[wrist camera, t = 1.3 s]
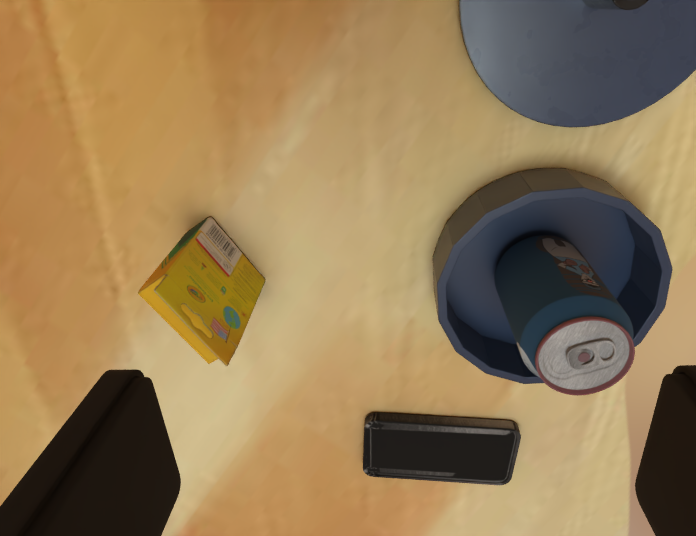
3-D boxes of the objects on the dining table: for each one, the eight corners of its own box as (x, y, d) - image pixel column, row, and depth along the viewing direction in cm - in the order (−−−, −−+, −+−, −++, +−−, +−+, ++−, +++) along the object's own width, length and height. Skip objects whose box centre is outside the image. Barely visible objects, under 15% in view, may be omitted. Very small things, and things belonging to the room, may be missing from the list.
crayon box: (185, 232, 43) (120, 306, 33) (211, 214, 42) (153, 284, 32) (241, 296, 45) (198, 383, 35) (267, 281, 44) (231, 365, 34)
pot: (541, 122, 37) (562, 138, 32) (684, 255, 41) (720, 285, 36) (392, 275, 43) (392, 305, 39) (527, 376, 47) (541, 415, 43)
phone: (364, 419, 49) (522, 429, 49) (365, 411, 50) (520, 421, 50) (362, 476, 53) (509, 487, 52) (363, 468, 54) (507, 477, 53)
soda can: (501, 313, 44) (538, 413, 33) (482, 243, 41) (515, 328, 30) (586, 291, 42) (651, 389, 32) (572, 217, 39) (639, 297, 29)
